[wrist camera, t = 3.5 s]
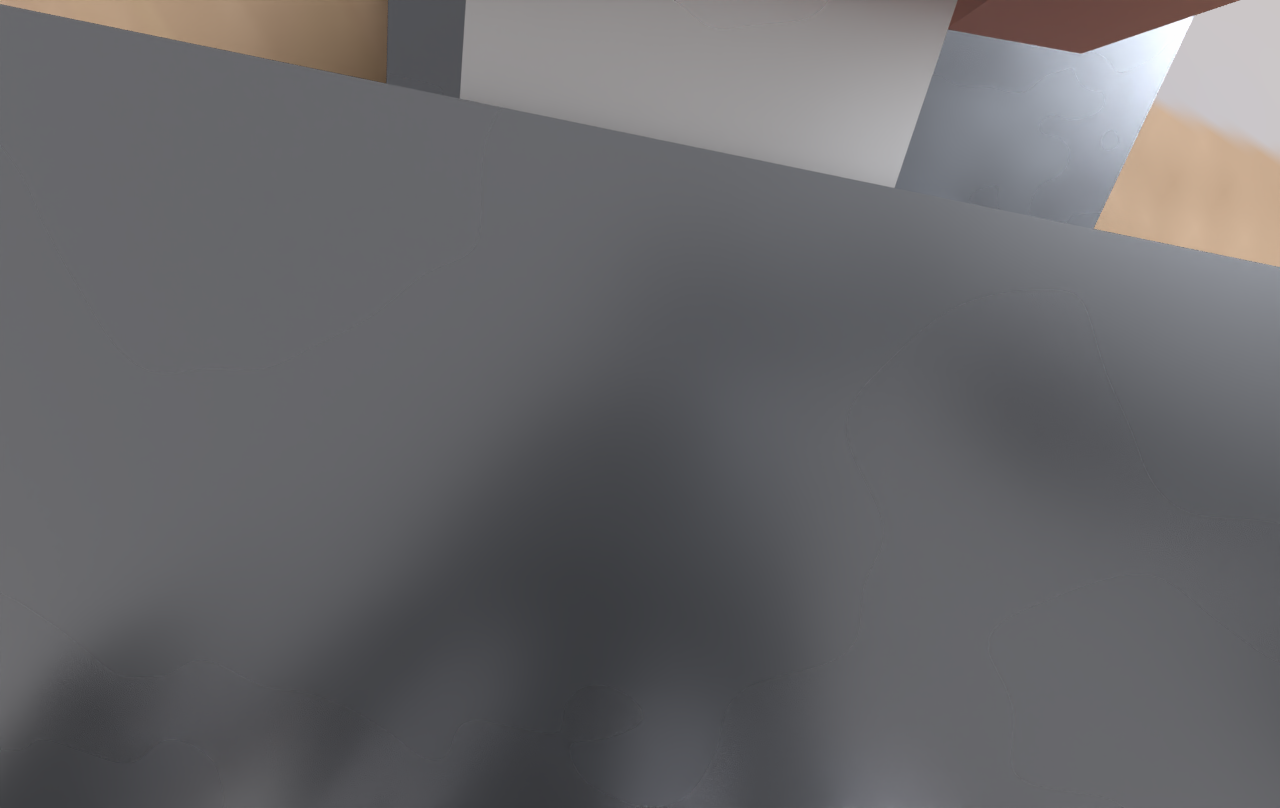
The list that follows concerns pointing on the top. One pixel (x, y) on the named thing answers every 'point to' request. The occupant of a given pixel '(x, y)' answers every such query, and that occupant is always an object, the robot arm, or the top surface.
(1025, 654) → the bearing block
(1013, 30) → the block
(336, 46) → the top surface
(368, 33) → the top surface
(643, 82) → the shaft
